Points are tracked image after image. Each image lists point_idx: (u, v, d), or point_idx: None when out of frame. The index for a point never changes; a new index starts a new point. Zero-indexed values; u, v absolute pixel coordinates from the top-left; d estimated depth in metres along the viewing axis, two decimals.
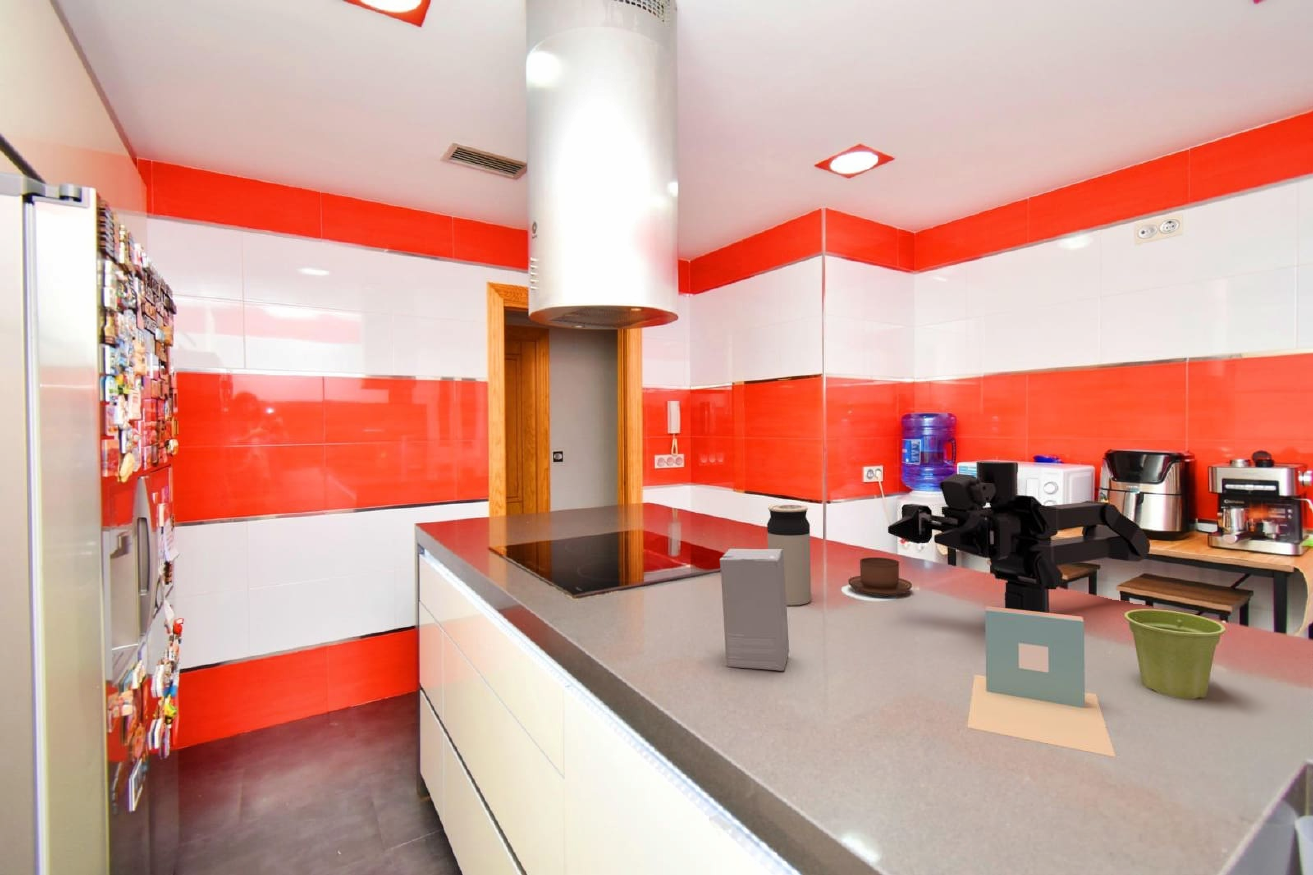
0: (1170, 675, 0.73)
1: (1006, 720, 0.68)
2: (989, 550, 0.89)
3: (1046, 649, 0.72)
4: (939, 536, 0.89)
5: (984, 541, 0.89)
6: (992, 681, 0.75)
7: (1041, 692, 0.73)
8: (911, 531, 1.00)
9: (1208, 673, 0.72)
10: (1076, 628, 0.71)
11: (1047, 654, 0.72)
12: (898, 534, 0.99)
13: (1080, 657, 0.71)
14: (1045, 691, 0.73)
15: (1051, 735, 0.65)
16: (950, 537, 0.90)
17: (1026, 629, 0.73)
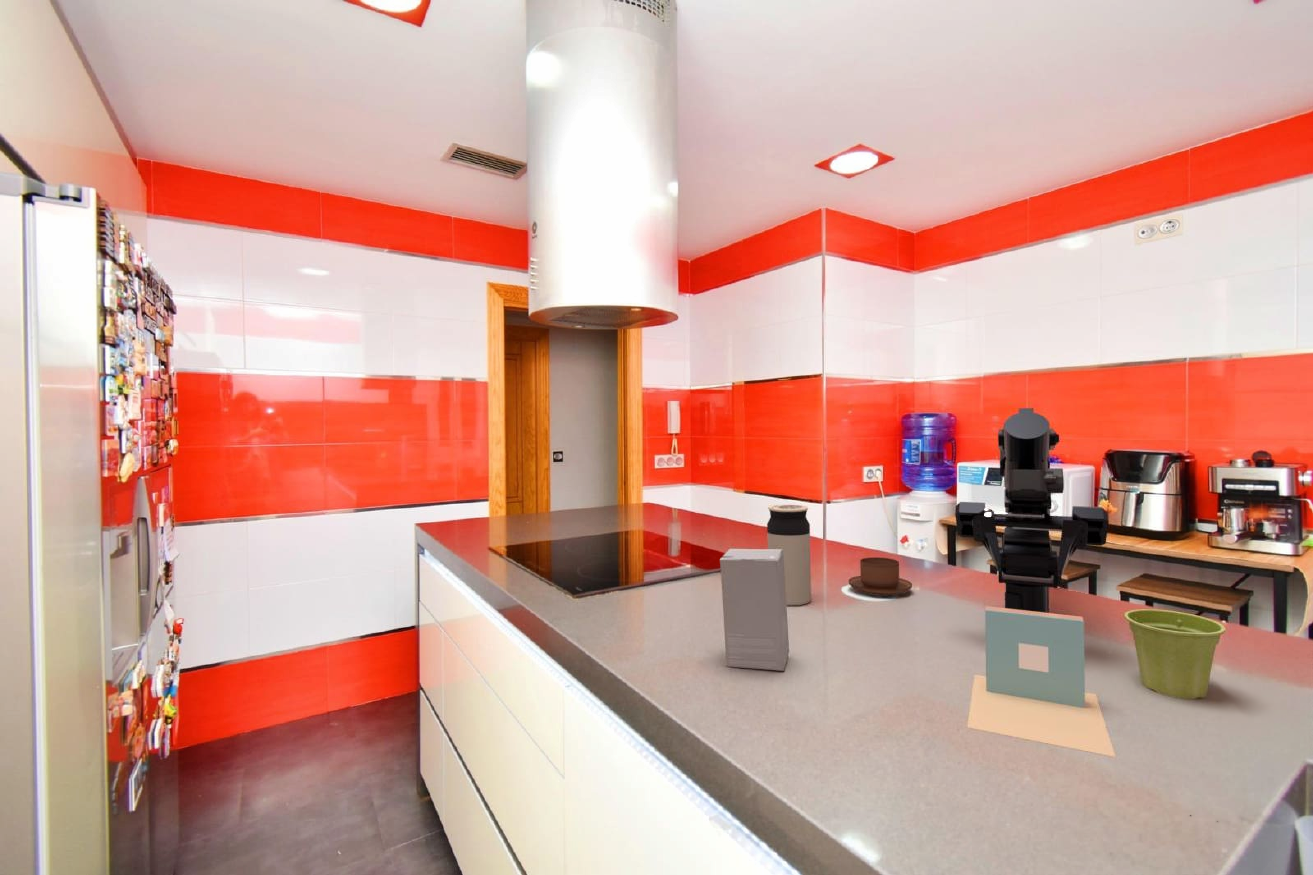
0: (1170, 675, 0.73)
1: (1006, 720, 0.68)
2: (1086, 542, 0.86)
3: (1046, 649, 0.72)
4: (1063, 569, 0.83)
5: (1082, 539, 0.86)
6: (992, 681, 0.75)
7: (1041, 692, 0.73)
8: None
9: (1208, 673, 0.72)
10: (1076, 628, 0.71)
11: (1047, 654, 0.72)
12: None
13: (1080, 657, 0.71)
14: (1045, 691, 0.73)
15: (1051, 735, 0.65)
16: None
17: (1026, 629, 0.73)
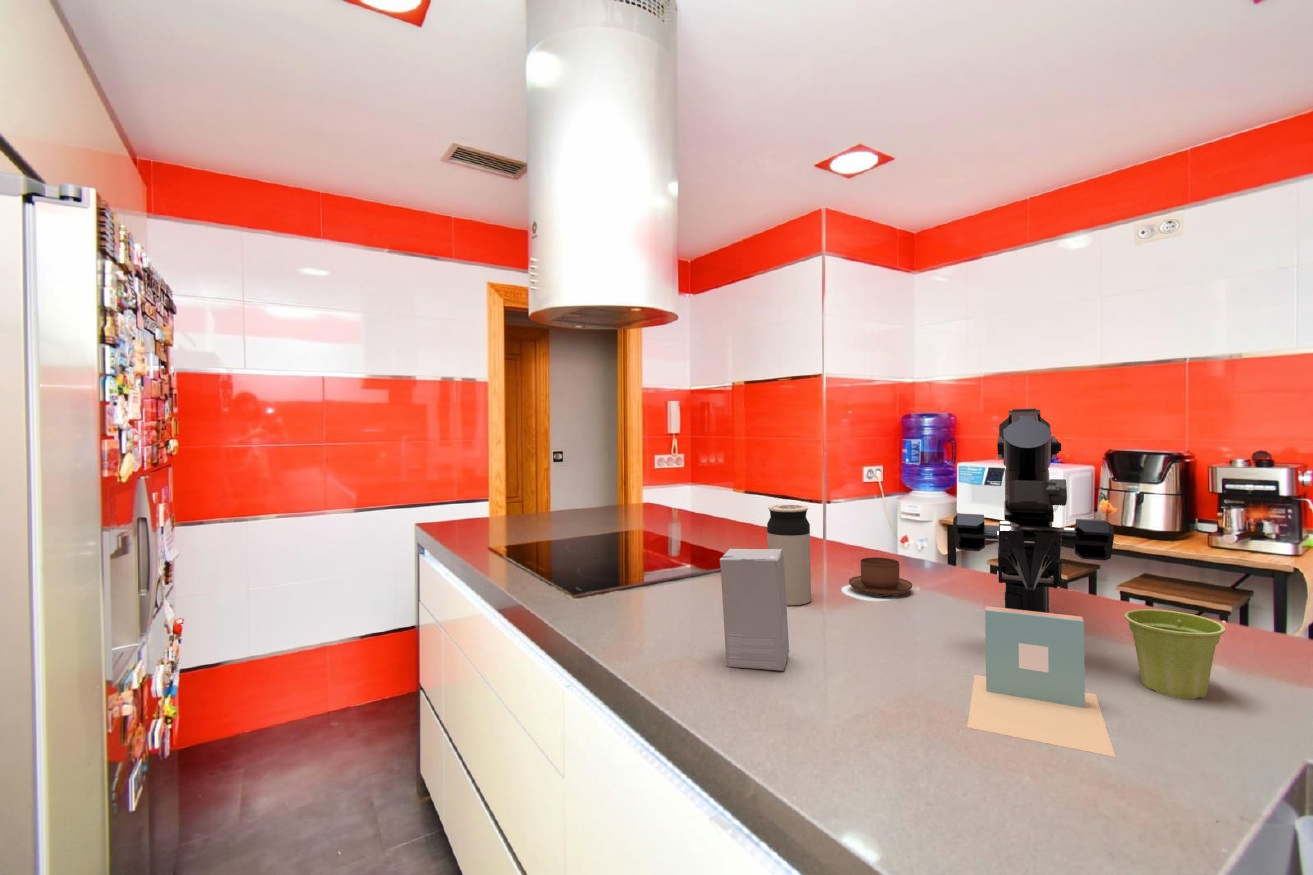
0: (1170, 675, 0.73)
1: (1006, 720, 0.68)
2: None
3: (1046, 649, 0.72)
4: (1035, 583, 0.80)
5: (1056, 551, 0.83)
6: (992, 681, 0.75)
7: (1041, 692, 0.73)
8: None
9: (1208, 673, 0.72)
10: (1076, 628, 0.71)
11: (1047, 654, 0.72)
12: None
13: (1080, 657, 0.71)
14: (1045, 691, 0.73)
15: (1051, 735, 0.65)
16: (1037, 573, 0.81)
17: (1026, 629, 0.73)
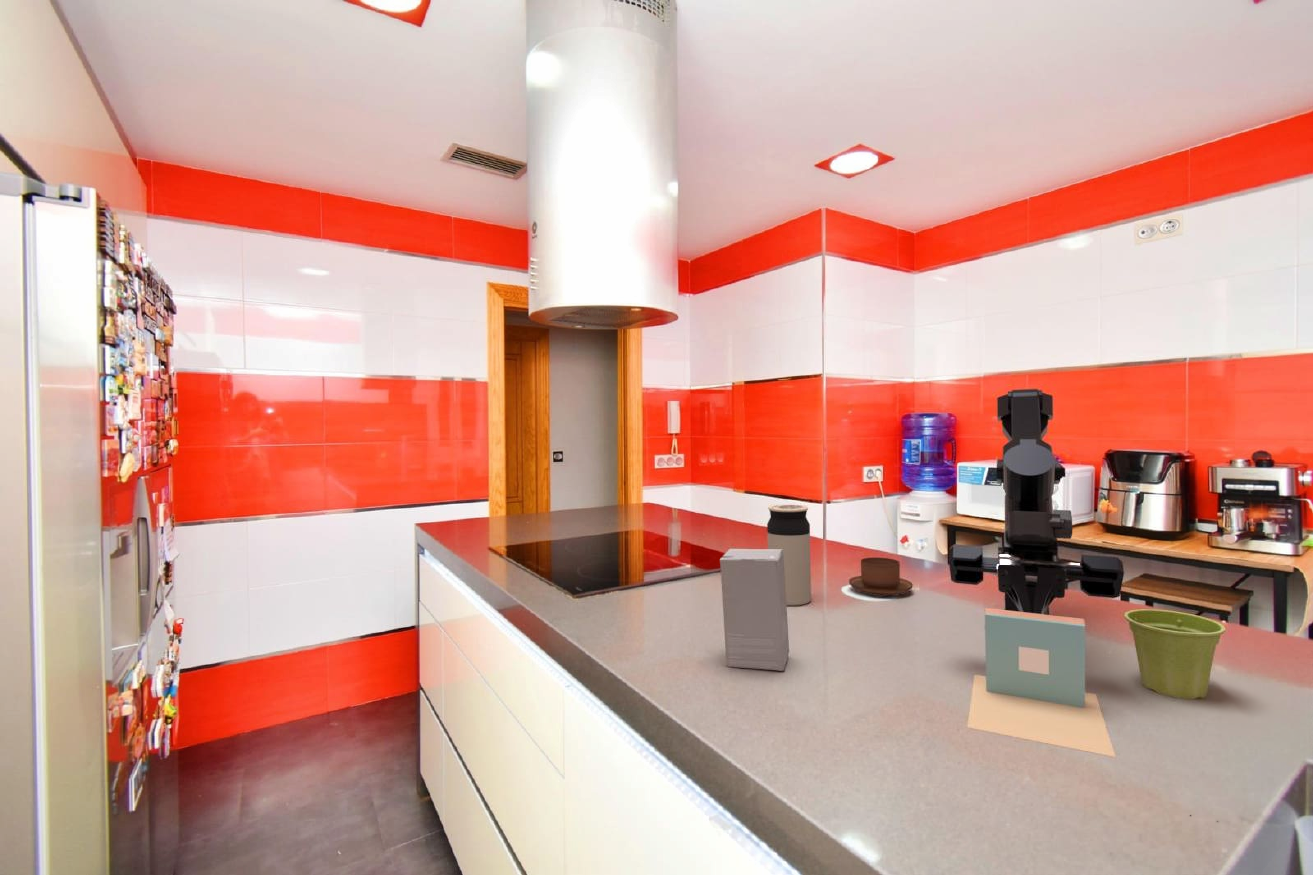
0: (1170, 675, 0.73)
1: (1006, 720, 0.68)
2: (1064, 592, 0.77)
3: (1046, 652, 0.72)
4: None
5: (1060, 588, 0.77)
6: (992, 682, 0.75)
7: (1041, 692, 0.73)
8: None
9: (1208, 673, 0.72)
10: (1077, 633, 0.70)
11: (1047, 657, 0.72)
12: None
13: (1081, 660, 0.70)
14: (1045, 692, 0.72)
15: (1051, 735, 0.65)
16: None
17: (1026, 633, 0.72)
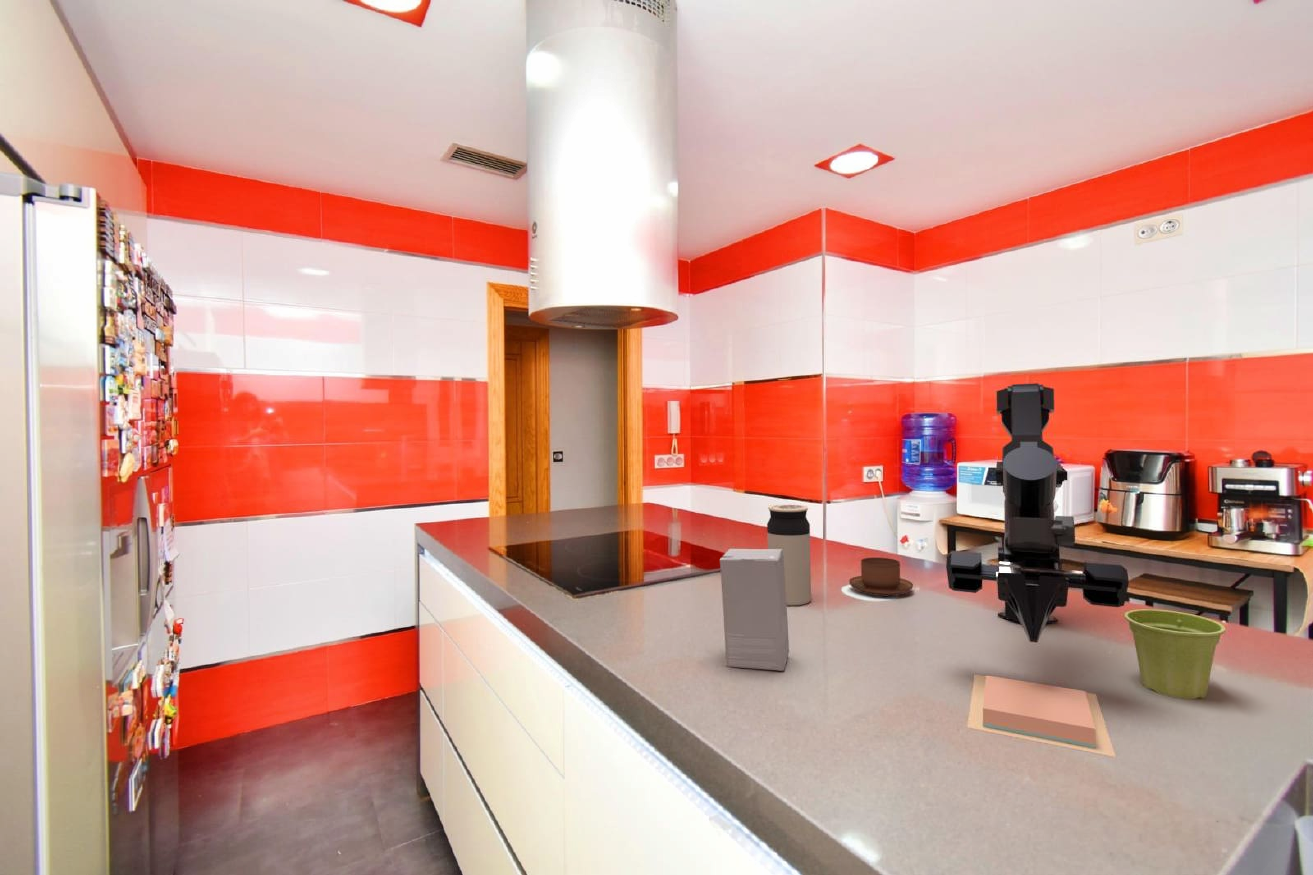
0: (1170, 675, 0.73)
1: None
2: (1066, 600, 0.74)
3: None
4: (1038, 635, 0.71)
5: (1062, 597, 0.74)
6: None
7: None
8: None
9: (1208, 673, 0.72)
10: None
11: None
12: None
13: None
14: None
15: None
16: None
17: None
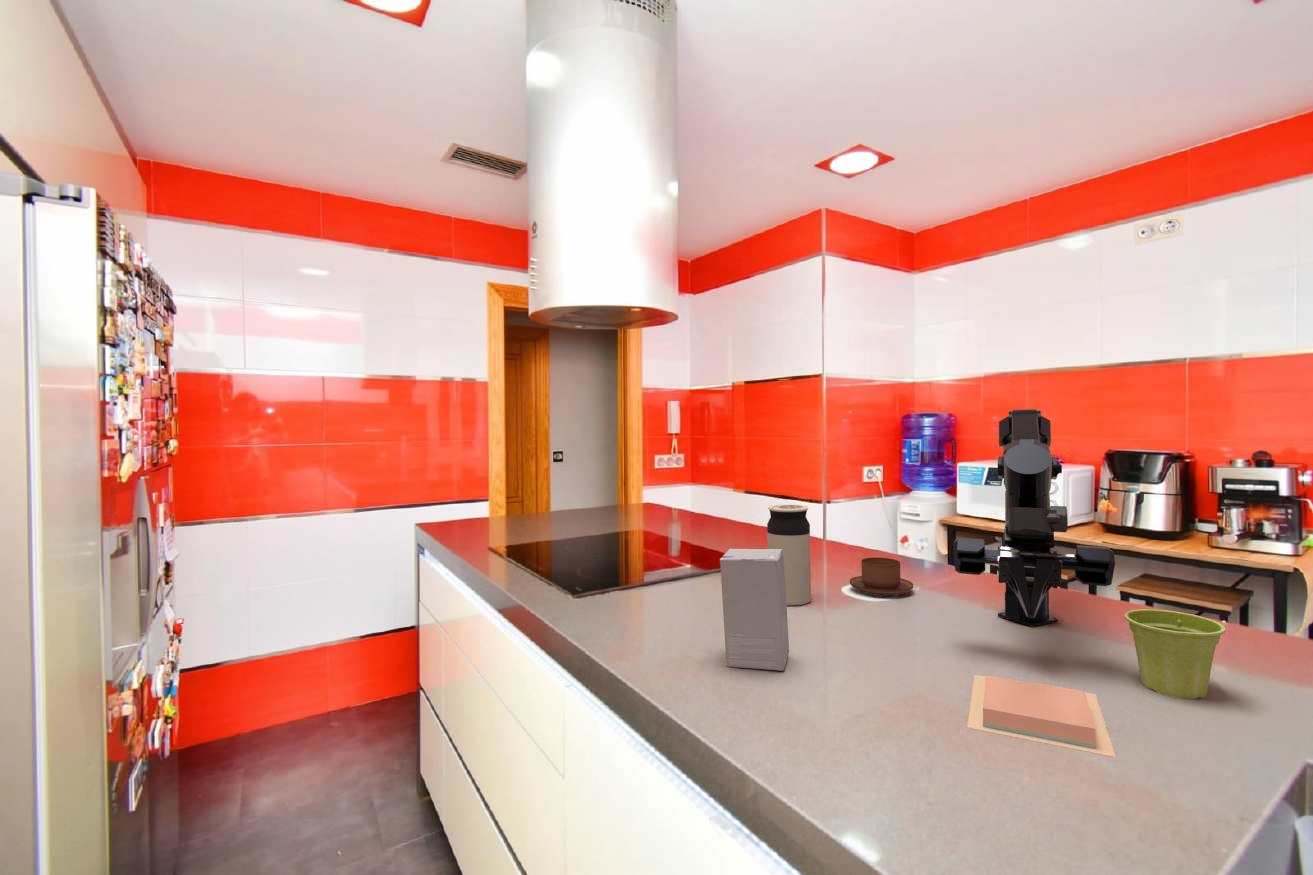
0: (1170, 675, 0.73)
1: None
2: (1060, 581, 0.84)
3: None
4: (1035, 611, 0.80)
5: (1056, 577, 0.83)
6: None
7: None
8: None
9: (1208, 673, 0.72)
10: None
11: None
12: None
13: None
14: None
15: None
16: None
17: None
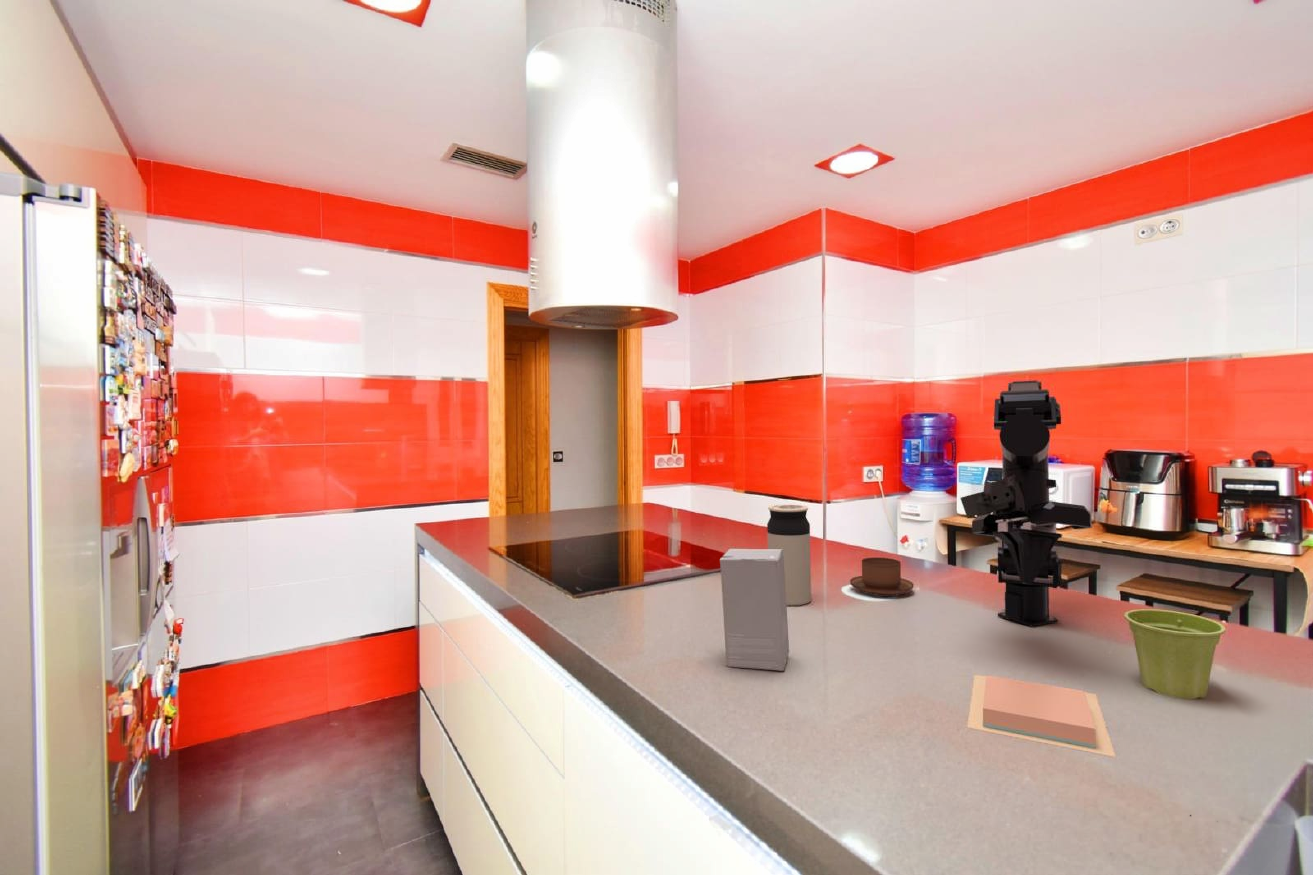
0: (1170, 675, 0.73)
1: None
2: (1055, 534, 0.83)
3: None
4: (1026, 579, 0.85)
5: (1044, 535, 0.84)
6: None
7: None
8: None
9: (1208, 673, 0.72)
10: None
11: None
12: None
13: None
14: None
15: None
16: (1029, 567, 0.85)
17: None
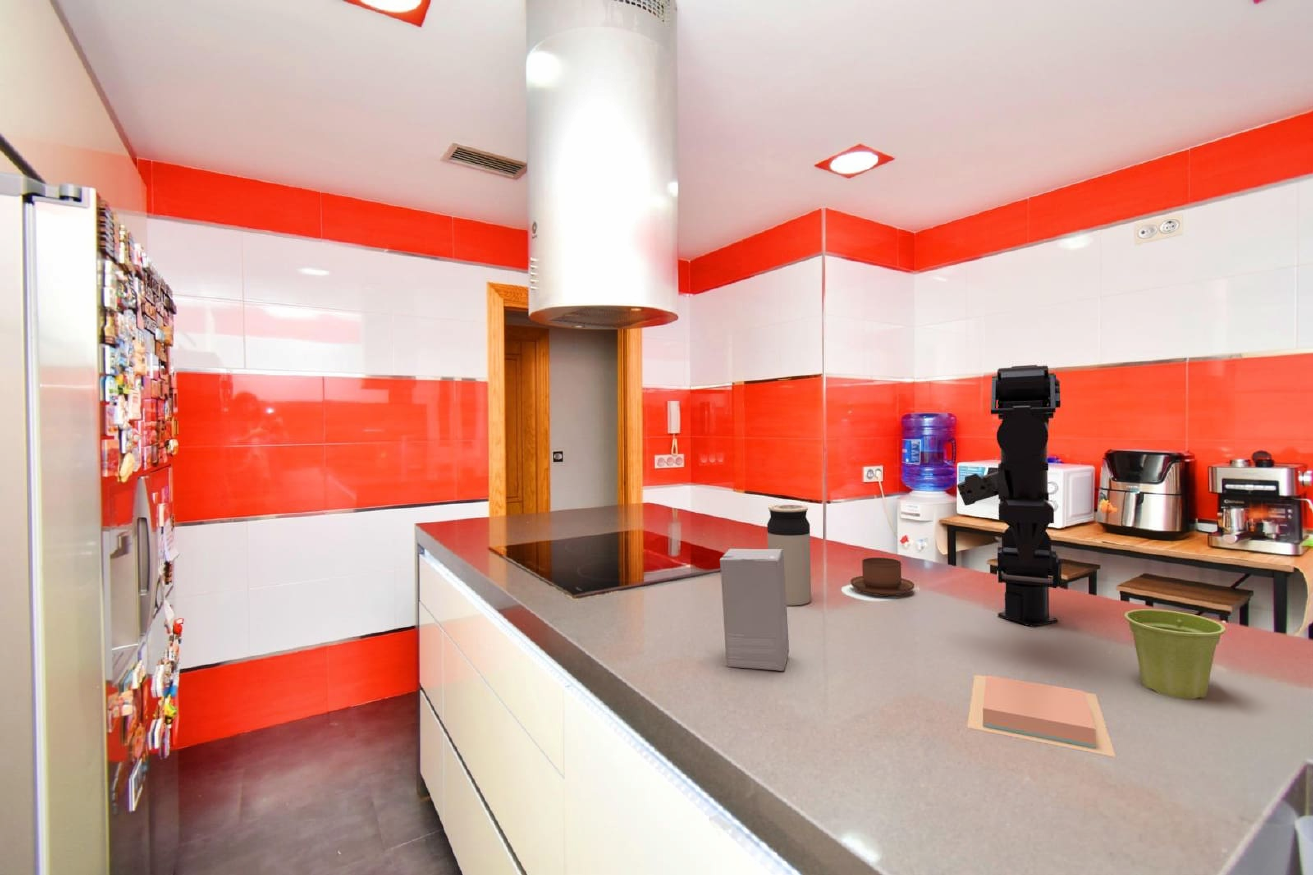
0: (1170, 675, 0.73)
1: None
2: None
3: None
4: (1022, 561, 0.87)
5: (1029, 522, 0.84)
6: None
7: None
8: None
9: (1208, 673, 0.72)
10: None
11: None
12: None
13: None
14: None
15: None
16: (1023, 550, 0.87)
17: None
